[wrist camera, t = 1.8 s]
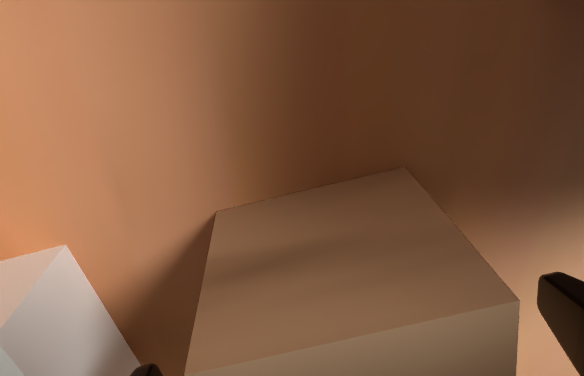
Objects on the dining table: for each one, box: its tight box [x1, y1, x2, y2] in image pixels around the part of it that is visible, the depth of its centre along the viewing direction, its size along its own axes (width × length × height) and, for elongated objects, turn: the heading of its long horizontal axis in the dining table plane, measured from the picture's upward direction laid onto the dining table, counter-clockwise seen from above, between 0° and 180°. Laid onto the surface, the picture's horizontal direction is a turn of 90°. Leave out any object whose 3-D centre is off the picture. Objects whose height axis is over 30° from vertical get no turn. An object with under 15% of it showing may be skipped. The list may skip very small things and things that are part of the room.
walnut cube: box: [184, 167, 520, 376], centre depth 9 cm, size 5×5×5 cm
